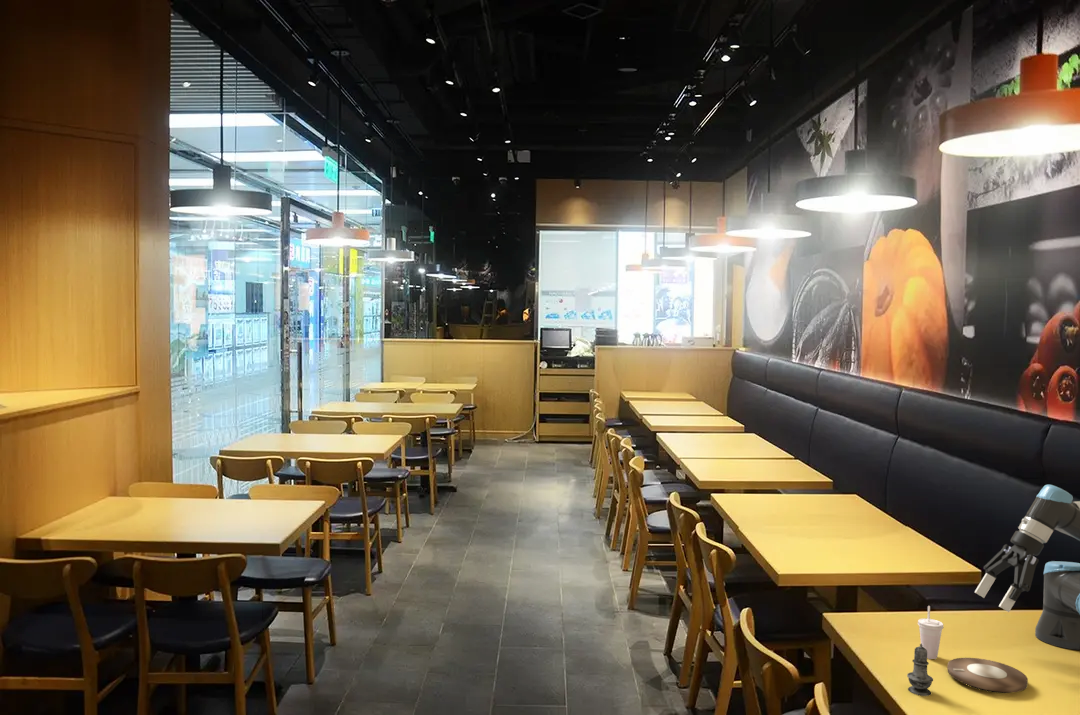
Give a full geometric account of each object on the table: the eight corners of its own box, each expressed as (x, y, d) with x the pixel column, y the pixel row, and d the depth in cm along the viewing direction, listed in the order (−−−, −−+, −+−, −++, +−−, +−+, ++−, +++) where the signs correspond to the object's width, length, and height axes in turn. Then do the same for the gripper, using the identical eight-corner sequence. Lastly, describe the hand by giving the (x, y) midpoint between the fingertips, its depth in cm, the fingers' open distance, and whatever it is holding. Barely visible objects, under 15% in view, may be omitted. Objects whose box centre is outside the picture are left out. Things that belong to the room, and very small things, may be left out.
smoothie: (920, 650, 226) (921, 601, 226) (945, 656, 222) (946, 606, 222) (914, 657, 221) (915, 606, 221) (939, 663, 217) (940, 612, 217)
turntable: (1004, 664, 215) (1004, 658, 215) (1042, 693, 197) (1042, 687, 197) (935, 661, 216) (935, 655, 216) (967, 690, 198) (967, 684, 198)
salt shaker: (935, 697, 196) (937, 649, 196) (910, 695, 197) (911, 646, 197) (929, 687, 202) (930, 640, 202) (904, 685, 203) (905, 638, 203)
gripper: (996, 521, 236) (958, 582, 236) (1044, 539, 211) (1002, 608, 211) (1018, 534, 235) (981, 596, 236) (1069, 554, 211) (1027, 623, 211)
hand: (990, 602), depth 224 cm, fingers open, 13 cm apart
